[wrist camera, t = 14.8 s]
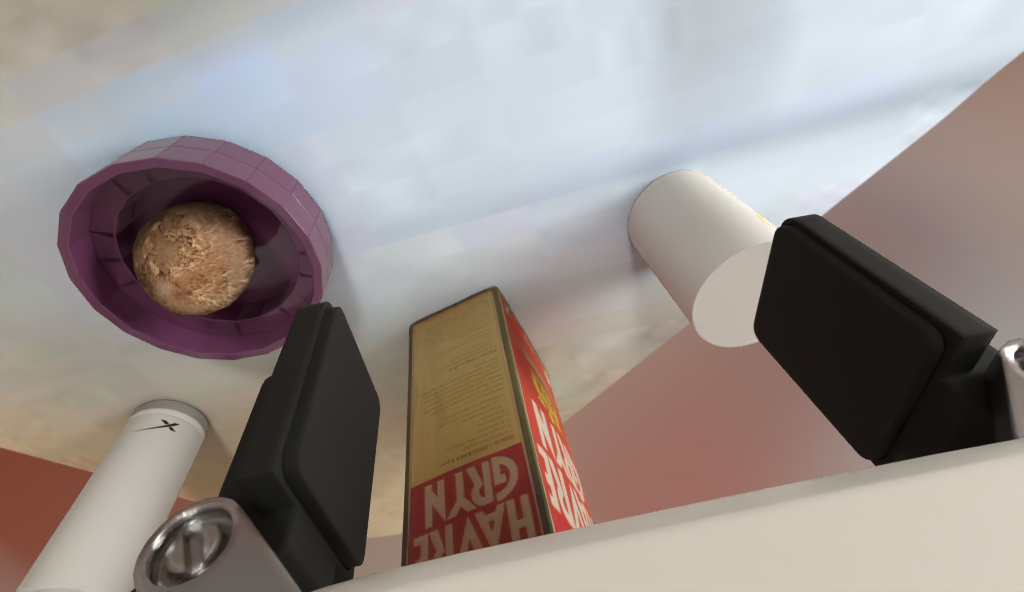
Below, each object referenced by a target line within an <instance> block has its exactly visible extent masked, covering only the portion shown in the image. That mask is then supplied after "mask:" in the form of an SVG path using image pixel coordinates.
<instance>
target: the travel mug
mask: <svg viewBox="0 0 1024 592" xmlns="http://www.w3.org/2000/svg"><path fill="white" fill-rule="evenodd" d="M207 432H208V423H207V420H206V418H205V417H204V416H203V415H202V414H201V413H200V412H199V411H198V410H197V409H195V408H193V407H191V406H189V405H187V404H184V403H181V402H177V401H170V400H157V401H151V402H148V403H145V404H143V405H141V406H139V407H138V408H137V409H135V411H134V412H133V414H132V415H131V417H130V418H129V420H128V421H127V423H126V424H125V426H124V427H123V429H122V430H121V432H120V434H119V435H118V437H117V438H116V440H115V441H114V443H113V444H112V446H111V447H110V449H109V450H108V452H107V453H106V455H105V456H104V458H103V459H102V461H101V462H100V464H99V466H98V467H97V469H96V470H95V472H94V473H93V475H92V476H91V478H90V479H89V481H88V482H87V484H86V485H85V487H84V488H83V490H82V491H81V493H80V494H79V496H78V497H77V499H76V501H75V502H74V504H73V505H72V507H71V508H70V510H69V511H68V513H67V514H66V516H65V518H64V519H63V520H62V522H61V524H60V525H59V526H58V528H57V529H56V531H55V533H54V534H53V536H52V537H51V539H50V540H49V542H48V543H47V545H46V546H45V548H44V549H43V551H42V552H41V554H40V555H39V557H38V559H37V560H36V562H35V563H34V565H33V566H32V568H31V569H30V571H29V572H28V574H27V575H26V577H25V578H24V580H23V582H22V583H21V584H20V586H19V587H18V589H17V590H16V592H131V591H132V590H133V589H134V588H135V587H134V579H133V572H134V568H135V564H136V560H137V558H138V556H139V554H140V552H141V550H142V549H143V547H144V545H145V543H146V542H147V541H148V539H149V538H150V537H151V536H152V535H153V534H154V532H155V531H156V530H157V529H158V528H159V527H160V526H161V525H162V524H163V523H164V522H166V520H167V517H168V515H169V513H170V511H171V509H172V507H173V505H174V503H175V500H176V498H177V496H178V494H179V492H180V490H181V488H182V486H183V483H184V481H185V479H186V477H187V475H188V473H189V471H190V469H191V466H192V464H193V462H194V460H195V458H196V456H197V454H198V451H199V449H200V447H201V445H202V443H203V441H204V439H205V437H206V434H207Z"/></svg>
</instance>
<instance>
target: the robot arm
mask: <svg viewBox="0 0 1024 592" xmlns="http://www.w3.org/2000/svg"><path fill="white" fill-rule="evenodd" d="M753 328H754V333H755V335H756V337H757V339H758V340H759V341H760V343H762V345H763V346H764V347H765V348H766V349H767V350H768V352H769V353H770V354H771V355H772V356H773V357H774V358H775V360H776V361H777V362H778V363H779V364H780V365H781V366H782V368H783V369H784V370H785V371H786V372H787V373H788V374H789V376H790V377H791V378H792V379H793V380H794V381H795V382H796V383H797V384H798V386H799V387H800V388H801V389H802V390H803V392H804V393H805V394H806V395H807V396H808V397H809V398H810V399H811V401H812V402H813V403H814V404H815V405H816V406H817V407H818V409H819V410H820V411H821V412H822V413H823V414H824V415H825V416H826V418H827V419H828V420H829V421H830V422H831V423H832V425H833V426H834V427H835V428H836V429H837V430H838V431H839V433H840V434H841V435H842V436H843V437H844V438H845V439H846V440H847V442H848V443H849V444H850V445H851V446H852V447H853V448H854V450H855V451H856V452H857V453H858V454H859V455H860V456H861V457H863V458H865V459H868V460H871V461H872V463H873V464H874V465H875V467H870V468H865V469H860V470H855V471H850V472H845V473H840V474H835V475H830V476H825V477H820V478H815V479H811V480H805V481H800V482H796V483H791V484H786V485H781V486H777V487H771V488H767V489H762V490H757V491H752V492H747V493H742V494H738V495H733V496H728V497H723V498H718V499H714V500H709V501H704V502H699V503H694V504H690V505H685V506H680V507H676V508H670V509H666V510H661V511H656V512H651V513H646V514H642V515H637V516H632V517H627V518H623V519H618V520H613V521H608V522H604V523H599V524H594V525H590V526H585V527H580V528H576V529H571V530H566V531H561V532H557V533H552V534H547V535H543V536H538V537H533V538H529V539H524V540H519V541H515V542H510V543H505V544H501V545H496V546H491V547H487V548H482V549H477V550H472V551H468V552H464V553H459V554H455V555H451V556H446V557H442V558H438V559H434V560H429V561H425V562H421V563H416V564H412V565H408V566H403V567H400V568H395V569H390V570H386V571H382V572H377V573H373V574H370V575H366V576H363V577H359V578H355V579H353V575H354V567H355V566H360V565H362V563H363V560H364V555H365V547H366V538H367V529H368V519H369V510H370V501H371V491H372V482H373V473H374V463H375V454H376V444H377V435H378V426H379V416H380V403H379V398H378V395H377V392H376V390H375V388H374V385H373V383H372V380H371V378H370V376H369V373H368V371H367V368H366V366H365V363H364V361H363V359H362V356H361V354H360V351H359V349H358V347H357V344H356V342H355V339H354V337H353V335H352V332H351V330H350V327H349V325H348V322H347V320H346V318H345V315H344V313H343V311H342V309H341V308H340V307H334V308H333V307H332V305H331V304H330V303H329V302H323V303H317V304H312V305H306V306H301V307H298V309H297V311H296V313H295V316H294V319H293V321H292V324H291V327H290V329H289V332H288V334H287V337H286V340H285V342H284V345H283V348H282V350H281V353H280V356H279V358H278V361H277V363H276V366H275V369H274V371H273V374H272V376H270V377H268V378H267V379H266V380H265V381H264V383H263V385H262V387H261V389H260V392H259V394H258V397H257V399H256V402H255V404H254V407H253V410H252V412H251V415H250V417H249V420H248V422H247V425H246V427H245V430H244V432H243V435H242V437H241V440H240V443H239V445H238V448H237V450H236V453H235V455H234V458H233V460H232V463H231V465H230V468H229V471H228V473H227V476H226V478H225V481H224V483H223V486H222V488H221V491H220V493H219V496H218V497H215V498H207V499H204V500H201V501H198V502H196V503H193V504H191V505H189V506H187V507H185V508H184V509H182V510H180V511H179V512H177V513H175V514H174V515H173V516H172V517H170V518H169V519H168V520H167V521H166V522H164V523H163V524H162V525H161V526H160V527H159V528H158V529H157V530H156V531H155V532H154V534H153V535H152V536H151V537H150V538H149V539H148V541H147V542H146V543H145V545H144V547H143V549H142V550H141V552H140V554H139V556H138V558H137V560H136V564H135V568H134V572H133V579H134V587H135V588H134V589H133V590H132V591H131V592H1024V338H1018V339H1014V340H1011V341H1008V342H1006V343H1005V344H1004V345H1003V346H1002V347H1001V348H1000V350H999V351H998V350H996V349H995V348H993V347H992V346H990V345H989V343H990V342H991V340H992V339H993V337H994V335H995V334H996V332H997V329H995V328H994V327H992V326H991V325H989V324H987V323H986V322H984V321H983V320H981V319H980V318H978V317H976V316H975V315H973V314H972V313H970V312H969V311H967V310H966V309H964V308H963V307H961V306H959V305H958V304H956V303H955V302H953V301H952V300H950V299H949V298H947V297H945V296H944V295H942V294H941V293H939V292H938V291H936V290H934V289H933V288H931V287H930V286H928V285H927V284H925V283H924V282H922V281H920V280H919V279H917V278H916V277H914V276H913V275H911V274H910V273H908V272H906V271H905V270H903V269H902V268H900V267H899V266H897V265H896V264H894V263H892V262H891V261H889V260H888V259H886V258H885V257H883V256H881V255H880V254H878V253H877V252H875V251H874V250H872V249H871V248H869V247H867V246H866V245H865V244H863V243H861V242H860V241H858V240H857V239H855V238H854V237H852V236H851V235H849V234H847V233H846V232H844V231H843V230H841V229H840V228H838V227H836V226H835V225H833V224H832V223H830V222H829V221H827V220H826V219H824V218H823V217H821V216H819V215H816V214H813V215H806V216H801V217H795V218H790V219H787V220H785V221H784V222H783V223H782V225H781V227H779V228H777V230H776V231H775V233H774V237H773V241H772V245H771V250H770V254H769V258H768V263H767V267H766V271H765V276H764V280H763V284H762V289H761V293H760V297H759V302H758V306H757V310H756V315H755V319H754V324H753Z"/></svg>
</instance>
